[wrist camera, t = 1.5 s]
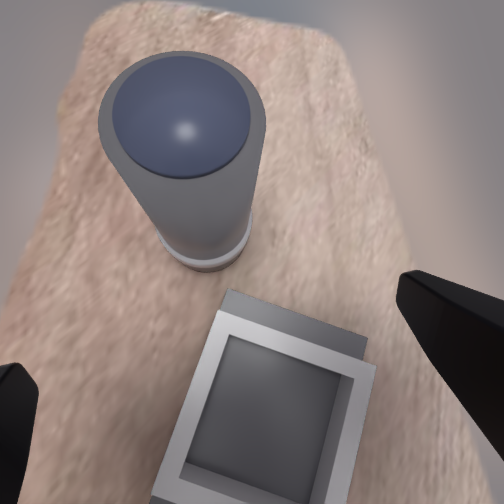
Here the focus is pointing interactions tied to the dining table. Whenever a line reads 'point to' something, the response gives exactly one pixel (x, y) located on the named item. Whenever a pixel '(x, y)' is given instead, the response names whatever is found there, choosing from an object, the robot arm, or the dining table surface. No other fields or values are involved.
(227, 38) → the dining table surface
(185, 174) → the lens
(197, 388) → the grey white tray
